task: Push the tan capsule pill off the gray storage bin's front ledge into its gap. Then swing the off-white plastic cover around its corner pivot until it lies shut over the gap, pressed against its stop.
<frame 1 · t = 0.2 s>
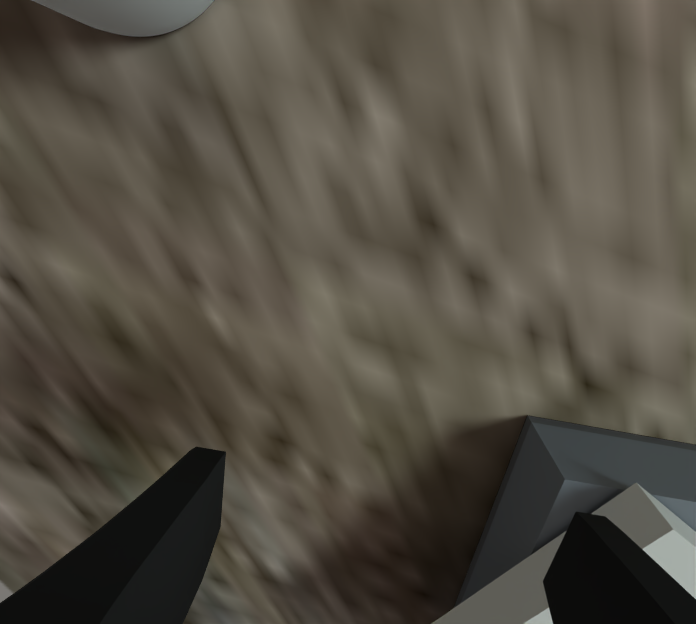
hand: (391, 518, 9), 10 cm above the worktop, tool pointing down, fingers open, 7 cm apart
gray storage bin: (599, 617, 24), on the worktop
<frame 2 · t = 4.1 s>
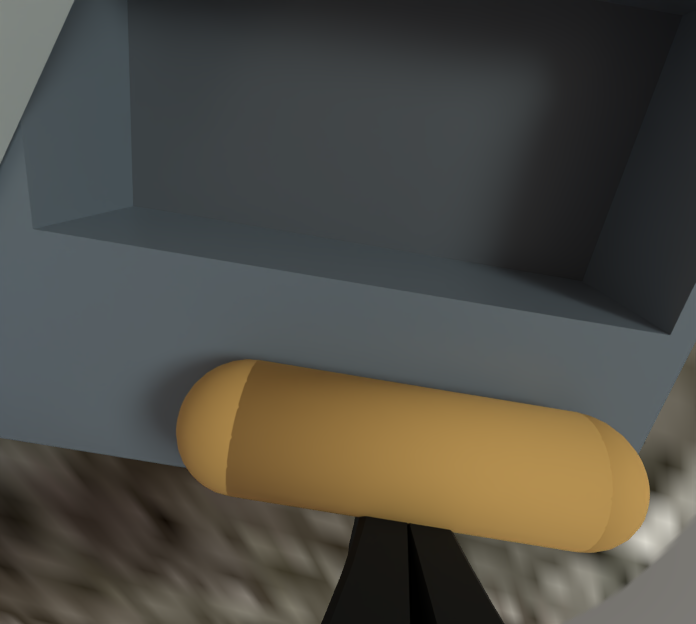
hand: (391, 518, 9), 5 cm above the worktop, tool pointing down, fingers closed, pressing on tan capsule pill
tan capsule pill: (400, 428, 9), point 4 cm above the worktop, tilted 17°, touching gray storage bin, gripper
gray storage bin: (319, 111, 10), on the worktop
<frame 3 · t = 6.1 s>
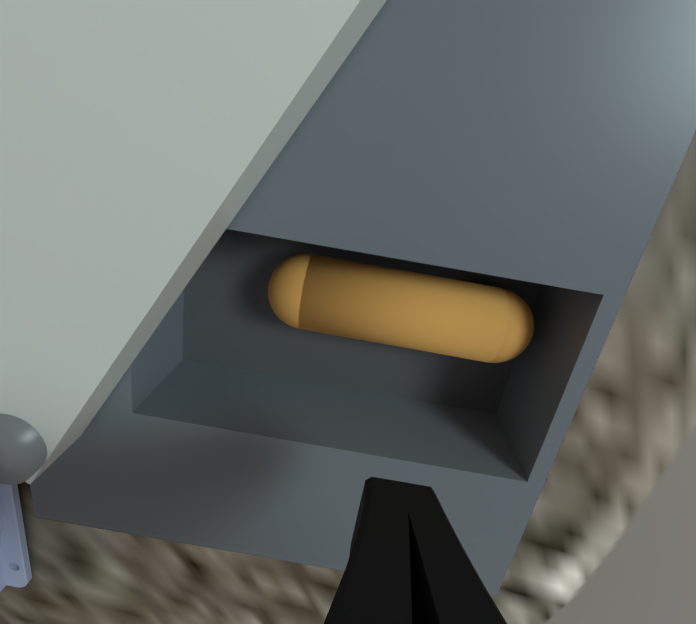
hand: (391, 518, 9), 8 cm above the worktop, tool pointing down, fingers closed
tan capsule pill: (397, 299, 14), point 1 cm above the worktop, tilted 6°, touching gray storage bin
cover: (22, 146, 9), point 5 cm above the worktop, hinge at 60.0°
gray storage bin: (312, 301, 15), on the worktop
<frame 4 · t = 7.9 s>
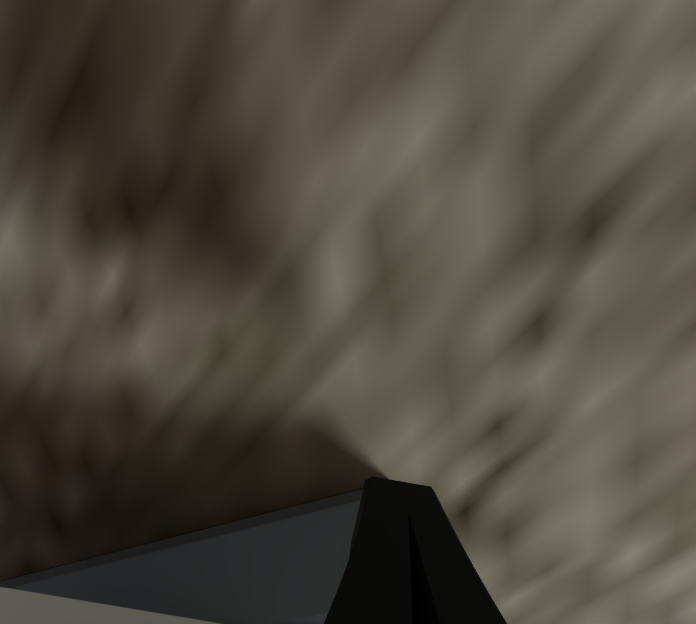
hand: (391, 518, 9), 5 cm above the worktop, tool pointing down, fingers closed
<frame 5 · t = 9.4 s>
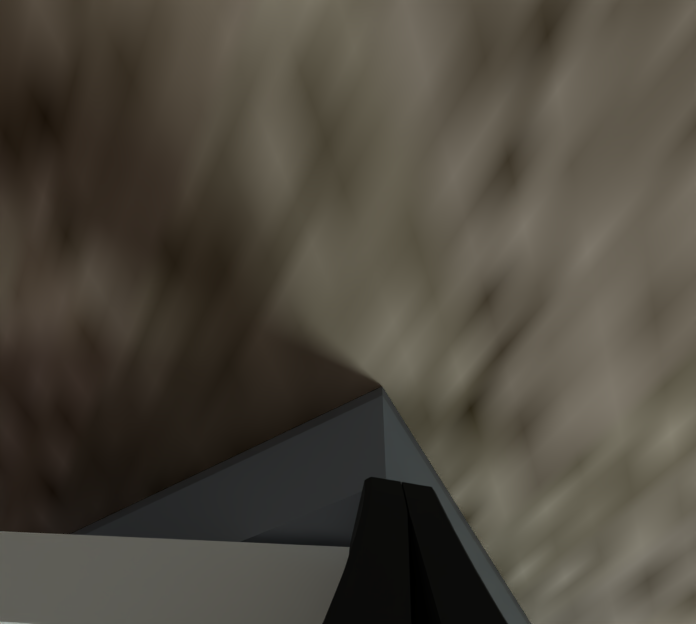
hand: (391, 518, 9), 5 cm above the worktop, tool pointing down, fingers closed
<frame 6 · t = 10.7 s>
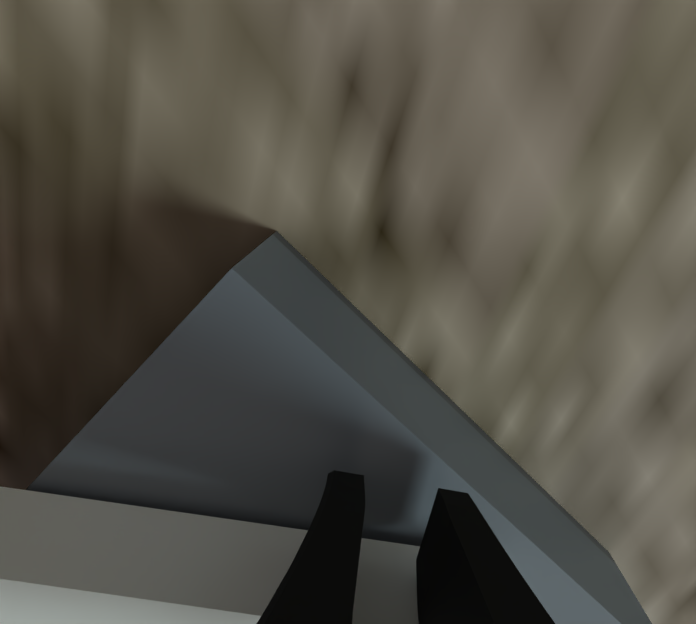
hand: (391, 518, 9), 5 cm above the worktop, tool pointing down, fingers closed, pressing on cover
gray storage bin: (226, 589, 17), on the worktop
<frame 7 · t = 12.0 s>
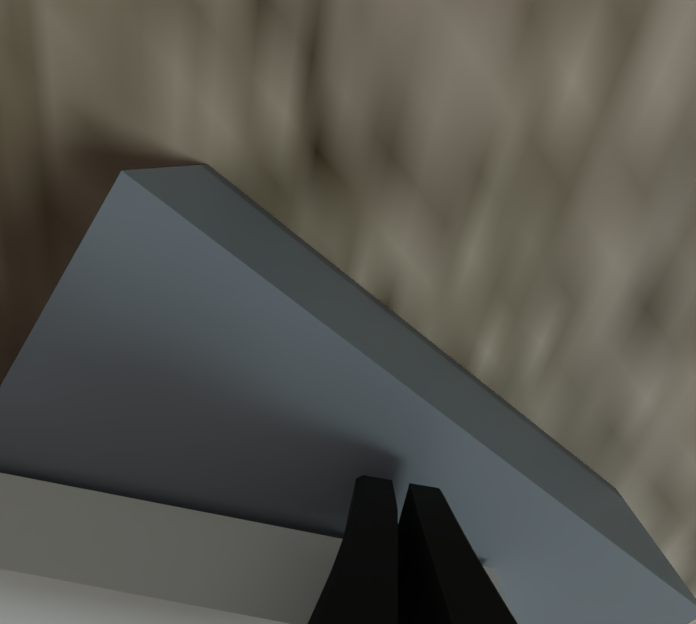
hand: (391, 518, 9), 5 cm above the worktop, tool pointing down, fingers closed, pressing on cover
gray storage bin: (218, 562, 16), on the worktop
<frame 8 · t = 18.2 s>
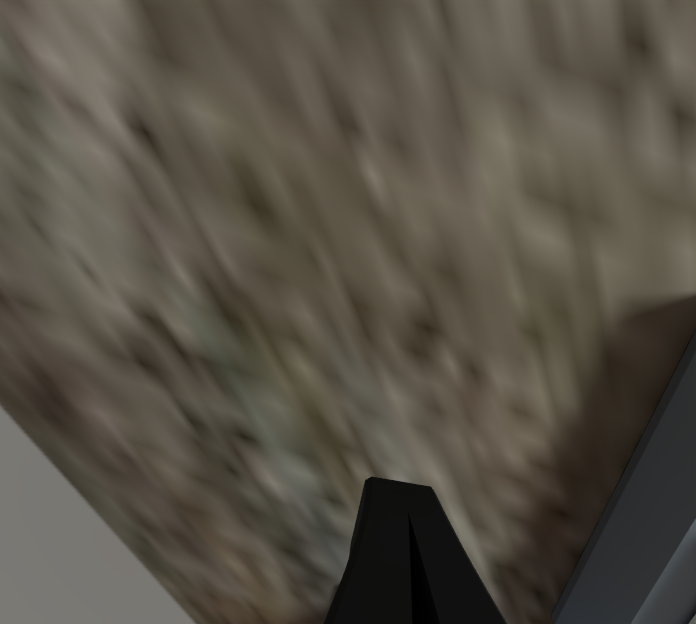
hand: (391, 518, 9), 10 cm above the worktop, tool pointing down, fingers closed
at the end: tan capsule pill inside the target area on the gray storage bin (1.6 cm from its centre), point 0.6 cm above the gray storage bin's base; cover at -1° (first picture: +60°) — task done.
